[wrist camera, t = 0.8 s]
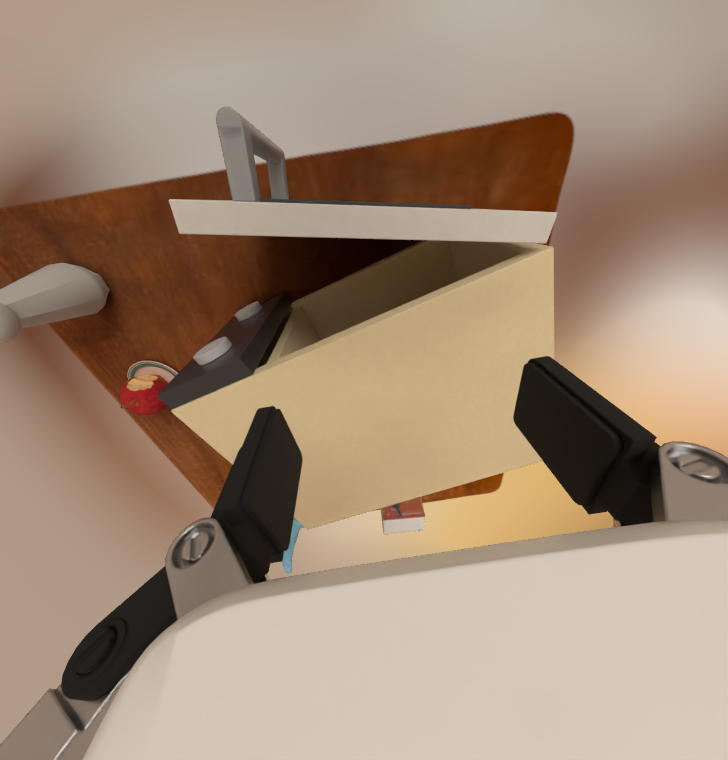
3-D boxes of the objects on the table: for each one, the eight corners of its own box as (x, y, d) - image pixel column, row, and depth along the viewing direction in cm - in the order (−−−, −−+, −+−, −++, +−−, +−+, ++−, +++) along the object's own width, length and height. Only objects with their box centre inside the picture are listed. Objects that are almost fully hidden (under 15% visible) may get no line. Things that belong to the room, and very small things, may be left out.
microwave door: (251, 150, 26) (129, 82, 11) (462, 159, 27) (596, 110, 13) (262, 218, 29) (179, 234, 15) (450, 224, 31) (546, 243, 16)
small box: (414, 468, 56) (426, 516, 47) (413, 483, 59) (424, 532, 51) (377, 471, 56) (382, 520, 47) (377, 487, 59) (383, 535, 50)
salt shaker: (97, 256, 30) (-38, 285, 20) (128, 304, 34) (26, 351, 23) (48, 263, 31) (-112, 295, 20) (84, 310, 34) (-37, 360, 23)
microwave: (230, 310, 35) (145, 390, 20) (449, 203, 30) (553, 203, 15) (319, 428, 48) (307, 529, 33) (482, 368, 43) (555, 457, 28)
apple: (117, 370, 39) (80, 397, 34) (159, 351, 38) (128, 376, 32) (160, 408, 43) (133, 437, 38) (199, 391, 42) (178, 419, 37)
